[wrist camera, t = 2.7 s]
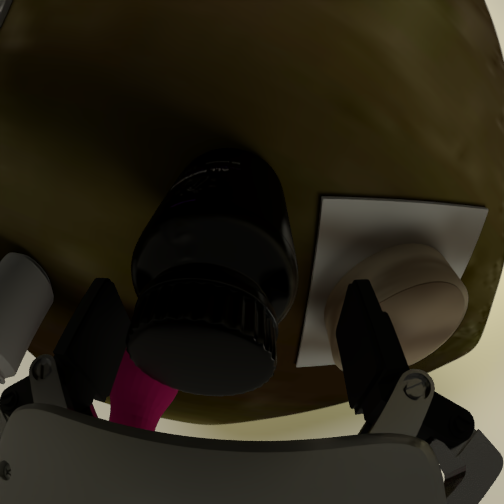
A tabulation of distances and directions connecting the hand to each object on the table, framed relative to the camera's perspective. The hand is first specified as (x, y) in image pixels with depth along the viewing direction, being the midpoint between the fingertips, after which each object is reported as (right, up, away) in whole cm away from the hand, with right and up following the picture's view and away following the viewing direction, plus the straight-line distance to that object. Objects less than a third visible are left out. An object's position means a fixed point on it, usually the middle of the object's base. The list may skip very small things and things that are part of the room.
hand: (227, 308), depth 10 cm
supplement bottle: (-1, +6, +7) cm, 9 cm away
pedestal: (+14, -2, +13) cm, 19 cm away
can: (-22, 0, +12) cm, 25 cm away
